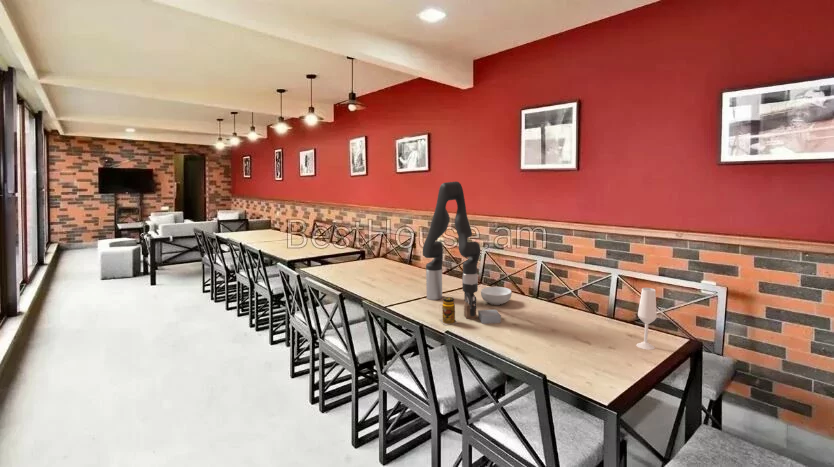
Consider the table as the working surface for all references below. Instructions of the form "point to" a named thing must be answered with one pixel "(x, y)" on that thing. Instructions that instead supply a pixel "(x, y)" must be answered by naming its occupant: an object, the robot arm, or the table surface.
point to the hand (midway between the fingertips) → (470, 313)
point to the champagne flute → (647, 313)
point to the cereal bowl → (496, 295)
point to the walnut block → (468, 311)
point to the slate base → (489, 316)
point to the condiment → (448, 311)
